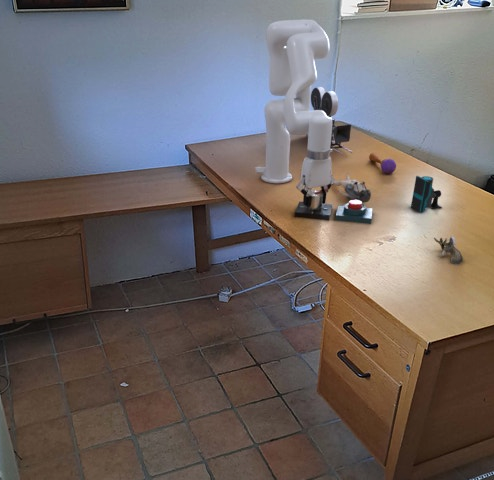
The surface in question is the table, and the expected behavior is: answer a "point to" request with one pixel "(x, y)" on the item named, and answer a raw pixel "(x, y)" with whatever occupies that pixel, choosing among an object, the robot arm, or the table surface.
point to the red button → (355, 204)
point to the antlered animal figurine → (450, 249)
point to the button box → (354, 214)
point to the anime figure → (354, 189)
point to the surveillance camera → (424, 194)
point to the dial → (315, 201)
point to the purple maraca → (384, 163)
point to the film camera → (330, 106)
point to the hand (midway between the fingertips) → (314, 203)
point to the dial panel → (314, 212)
